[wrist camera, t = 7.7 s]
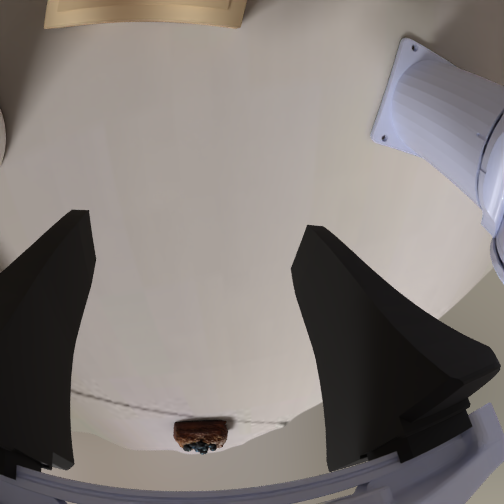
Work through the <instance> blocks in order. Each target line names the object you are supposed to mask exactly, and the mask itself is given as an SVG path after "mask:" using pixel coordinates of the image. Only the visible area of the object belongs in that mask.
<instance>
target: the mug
mask: <svg viewBox="0 0 504 504" xmlns="http://www.w3.org/2000/svg"><path fill="white" fill-rule="evenodd" d="M5 146H6V130H5V123H4V119H3V115H2V112H1V109H0V166H1V163H2V160H3V157H4V153H5Z"/></svg>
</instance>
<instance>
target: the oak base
mask: <svg viewBox="0 0 504 504" xmlns="http://www.w3.org/2000/svg"><path fill="white" fill-rule="evenodd" d="M246 2H247V0H48V3H47V9H46V15H45V23H44V29H50V28H65V27H72V26H80V25H89V24H100V23H115V22H175V23H190V24H202V25H211V26H220V27H227V28H234V29H236V28H240V27H241V24H242V19H243V15H244V11H245V7H246Z"/></svg>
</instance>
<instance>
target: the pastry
mask: <svg viewBox="0 0 504 504" xmlns="http://www.w3.org/2000/svg"><path fill="white" fill-rule="evenodd" d="M225 423H226V421H223V420H203V421H183V422H175V424H174V435H173V436H174V438H175V440H176V442H177V443H178V444H179V445H180V447H182V448H183V449H184V450H185V451H188V452H189V451H191V450H193V449H194V450H195V451H196V452H200V454H206V453H207V451H208V448H210V450H211V451H215V450H216V449H217V448H220V447H223V444H224V443H225V442H226V440H227V436H228V435H227V434H228V430H227V427H226V425H225Z"/></svg>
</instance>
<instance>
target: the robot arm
mask: <svg viewBox="0 0 504 504" xmlns="http://www.w3.org/2000/svg"><path fill="white" fill-rule="evenodd" d="M412 45H414V50H412ZM384 135H385V138H384V139H383V140H382V136H384ZM370 136H371V139H372V140H373V141H374V142H376V143H378V144H382V145H385V146H388V147H391V148H394V149H398V150H401V151H404V152H407V153H410V154H413V155H416V156H418V157H421V158H424V159H425V160H426V161H427V162H429V163H430V164H431V165H432V166H434V167H435V168H436V169H437V170H438V171H440V172H441V173H442V174H443V175H444V176H445V177H447V178H448V179H449V180H450V181H451V182H452V183H454V184H455V185H456V186H457V187H458V188H459V189H460V190H461V191H462V192H464V193H465V194H466V195H467V196H468V197H469V198H470V199H471V200H472V201H473V202H474V203H475V204H476V205H477V206H478V207H479V208H480V209H481V210H482V211H483V216H482V221H481V225H482V226H483V227H484V228H485V229H486V230H487V231H488V232H489V233H490V234H491V235H492V237H493V238H492V241H491V245H490V256H491V260H492V264H493V266H494V269H495V271H496V273H497V275H498V277H499V278H500V280H501V281H502V283H503V284H504V86H502V85H500V84H498V83H496V82H493V81H491V80H489V79H486V78H484V77H481V76H479V75H476V74H474V73H471V72H468V71H466V70H463V69H460V68H457V67H456V66H454V65H453V64H452V63H450V62H449V61H447V60H445V59H444V58H442V57H441V56H439V55H438V54H436V53H434V52H433V51H431V50H429V49H428V48H426V47H424V46H423V45H421V44H419V43H417V42H416V41H414V40H412V39H410V38H403V39H401V41H400V45H399V48H398V51H397V55H396V58H395V62H394V65H393V68H392V71H391V75H390V78H389V81H388V84H387V87H386V90H385V93H384V96H383V99H382V102H381V105H380V108H379V111H378V114H377V117H376V120H375V123H374V126H373V129H372V131H371V135H370ZM95 263H96V255H95V250H94V243H93V237H92V230H91V223H90V216H89V210H71V211H70V212H68V213H67V214H66V215H65V216H64V217H62V218H61V219H60V220H59V221H58V222H57V223H55V224H54V225H53V226H52V227H51V228H50V229H49V230H48V231H47V232H45V233H44V234H43V235H42V236H41V237H40V238H39V239H38V240H37V241H36V242H35V243H34V244H32V245H31V246H30V247H29V248H28V249H27V250H26V251H25V252H23V253H22V254H21V255H20V256H19V257H18V258H17V259H16V260H15V261H14V262H12V263H11V264H10V265H9V266H8V267H7V268H6V269H5V270H3V271H2V272H1V273H0V504H67V503H66V502H65V501H68V502H72V503H77V504H292V503H297V502H301V501H306V500H310V499H314V498H318V497H322V496H325V495H329V494H333V493H336V492H340V491H343V490H346V489H349V488H352V487H355V486H358V487H357V488H356V490H355V492H354V494H352V495H348V496H344V497H340V498H337V499H332V500H329V501H325V502H322V503H318V504H465V503H466V502H467V501H468V500H469V499H470V498H471V496H472V495H473V494H474V493H475V492H476V490H477V489H478V488H479V487H480V486H481V485H482V483H483V482H484V481H485V480H486V479H487V478H488V477H489V475H490V474H491V473H492V472H493V471H494V470H495V469H496V468H497V467H498V466H499V465H500V464H501V463H502V462H504V433H503V431H502V428H501V426H500V423H499V421H498V418H497V416H496V413H495V411H494V408H493V406H492V404H491V403H490V402H489V403H487V404H486V405H484V406H482V407H481V408H479V409H477V410H476V411H474V412H472V413H471V414H469V415H468V414H467V411H466V409H467V408H469V407H470V402H469V400H468V397H469V396H471V395H472V394H473V393H475V392H476V391H477V390H479V389H480V388H481V387H482V386H483V385H485V384H486V383H487V382H488V381H490V380H491V379H492V378H493V377H494V376H495V375H496V374H497V373H498V372H499V370H500V367H501V365H500V364H499V361H498V359H497V358H496V356H495V354H494V352H493V351H492V349H491V348H490V347H488V346H486V345H484V344H482V343H480V342H478V341H476V340H473V339H471V338H469V337H467V336H465V335H463V334H462V333H460V332H458V331H456V330H454V329H453V328H451V327H449V326H447V325H446V324H444V323H442V322H441V321H439V320H437V319H436V318H434V317H433V316H431V315H430V314H428V313H427V312H425V311H424V310H422V309H421V308H420V307H418V306H417V305H415V304H414V303H413V302H411V301H410V300H409V299H407V298H406V297H405V296H403V295H402V294H401V293H399V292H398V291H397V290H396V289H394V288H393V287H392V286H391V285H390V284H388V283H387V282H386V281H385V280H384V279H383V278H381V277H380V276H379V275H378V274H377V273H376V272H375V271H373V270H372V269H371V268H370V267H369V266H368V265H367V264H366V263H365V262H363V261H362V260H361V259H360V258H359V257H358V256H357V255H356V254H355V253H354V252H353V251H351V250H350V249H349V248H348V247H347V246H346V245H345V244H344V243H343V242H342V241H341V240H339V239H338V238H337V237H336V236H335V235H334V234H332V233H331V232H330V231H329V230H327V229H326V228H325V227H323V226H314V225H307V227H306V230H305V233H304V235H303V238H302V241H301V243H300V246H299V249H298V251H297V254H296V257H295V259H294V262H293V264H292V267H291V273H292V279H293V285H294V290H295V295H296V298H297V301H298V304H299V307H300V310H301V314H302V317H303V320H304V323H305V326H306V329H307V332H308V335H309V338H310V341H311V344H312V347H313V351H314V355H315V358H316V364H317V369H318V374H319V379H320V386H321V392H322V399H323V407H324V417H325V427H326V448H327V465H328V469H329V471H330V472H331V473H327V474H323V475H319V476H315V477H310V478H306V479H301V480H296V481H290V482H285V483H280V484H273V485H266V486H259V487H251V488H242V489H231V490H216V491H178V492H177V491H152V490H137V489H126V488H118V487H110V486H103V485H97V484H91V483H85V482H80V481H75V480H70V479H65V478H61V477H57V476H53V475H49V474H45V473H42V472H41V468H44V469H48V470H52V467H55V468H59V469H63V470H68V469H70V468H71V467H72V466H73V465H74V458H73V449H72V440H71V423H70V391H71V374H72V363H73V354H74V349H75V343H76V339H77V335H78V331H79V327H80V323H81V320H82V316H83V312H84V309H85V305H86V302H87V298H88V295H89V291H90V288H91V284H92V279H93V274H94V268H95ZM366 461H368V462H366ZM363 462H365V463H363ZM359 463H362V464H359ZM356 464H358V465H356ZM353 465H355V466H353ZM350 466H352V467H350ZM346 467H349V468H346ZM343 468H345V469H343ZM339 469H342V470H339ZM335 470H338V471H335ZM332 471H334V472H332Z"/></svg>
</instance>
